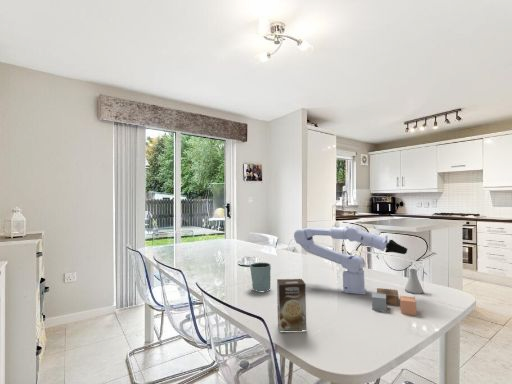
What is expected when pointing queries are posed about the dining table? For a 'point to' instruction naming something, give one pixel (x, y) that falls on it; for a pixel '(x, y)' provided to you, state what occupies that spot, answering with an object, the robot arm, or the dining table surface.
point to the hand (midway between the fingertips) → (406, 251)
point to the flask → (413, 283)
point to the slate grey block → (379, 302)
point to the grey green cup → (260, 276)
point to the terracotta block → (408, 305)
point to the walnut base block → (390, 296)
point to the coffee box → (291, 304)
